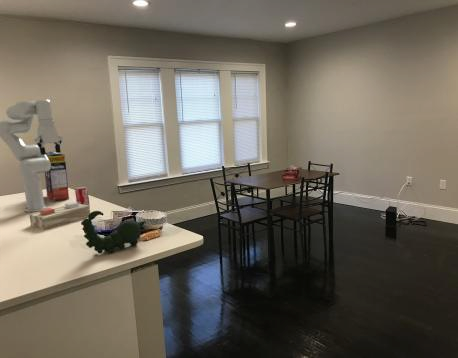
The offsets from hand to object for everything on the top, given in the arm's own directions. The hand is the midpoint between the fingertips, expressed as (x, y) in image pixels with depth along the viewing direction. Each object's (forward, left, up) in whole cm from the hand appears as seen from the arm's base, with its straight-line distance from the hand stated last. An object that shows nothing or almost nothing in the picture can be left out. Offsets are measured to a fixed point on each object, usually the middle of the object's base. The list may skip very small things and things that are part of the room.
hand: (51, 153), depth 206 cm
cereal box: (-47, +26, -36) cm, 64 cm away
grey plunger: (+14, 0, -31) cm, 34 cm away
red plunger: (+14, -14, -31) cm, 37 cm away
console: (+14, -7, -35) cm, 39 cm away
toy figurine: (+79, -21, -36) cm, 89 cm away
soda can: (+1, +15, -36) cm, 39 cm away
